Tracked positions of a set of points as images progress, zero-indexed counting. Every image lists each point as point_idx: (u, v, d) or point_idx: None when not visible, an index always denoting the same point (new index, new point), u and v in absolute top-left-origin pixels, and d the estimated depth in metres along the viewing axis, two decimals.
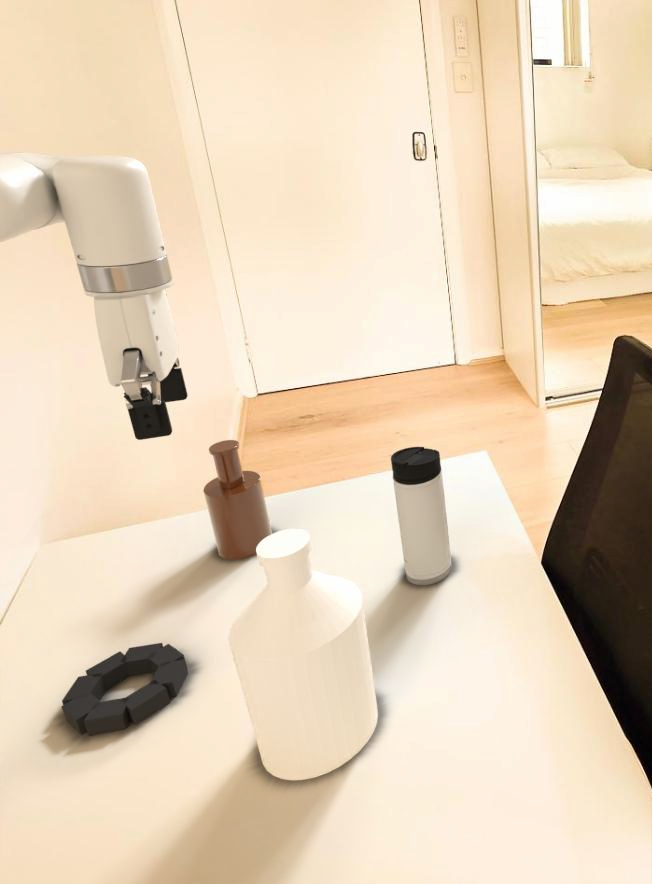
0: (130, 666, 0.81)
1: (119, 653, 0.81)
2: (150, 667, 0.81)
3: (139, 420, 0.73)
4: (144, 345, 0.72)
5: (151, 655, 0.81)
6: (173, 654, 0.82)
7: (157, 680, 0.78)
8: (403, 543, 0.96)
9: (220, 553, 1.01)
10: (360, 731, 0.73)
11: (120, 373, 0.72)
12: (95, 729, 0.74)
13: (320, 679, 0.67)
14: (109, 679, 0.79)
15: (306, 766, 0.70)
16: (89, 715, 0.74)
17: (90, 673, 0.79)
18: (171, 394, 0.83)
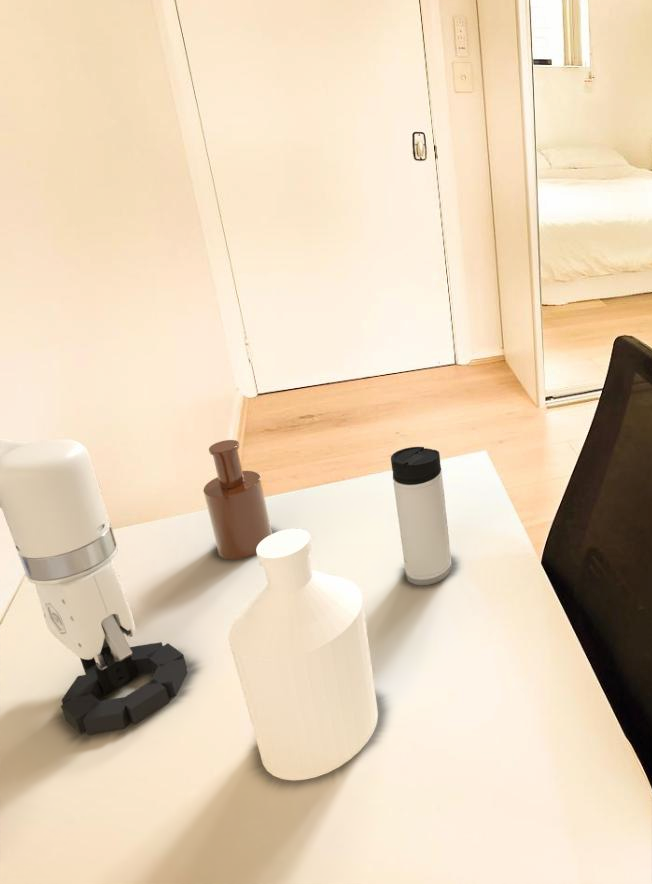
0: None
1: None
2: (150, 667, 0.82)
3: (112, 677, 0.78)
4: (120, 609, 0.75)
5: (151, 654, 0.81)
6: (172, 653, 0.82)
7: (157, 679, 0.78)
8: (403, 543, 0.96)
9: (220, 553, 1.01)
10: (360, 731, 0.73)
11: (99, 644, 0.74)
12: (94, 728, 0.74)
13: (320, 679, 0.67)
14: None
15: (306, 766, 0.70)
16: (88, 714, 0.74)
17: (89, 672, 0.79)
18: None
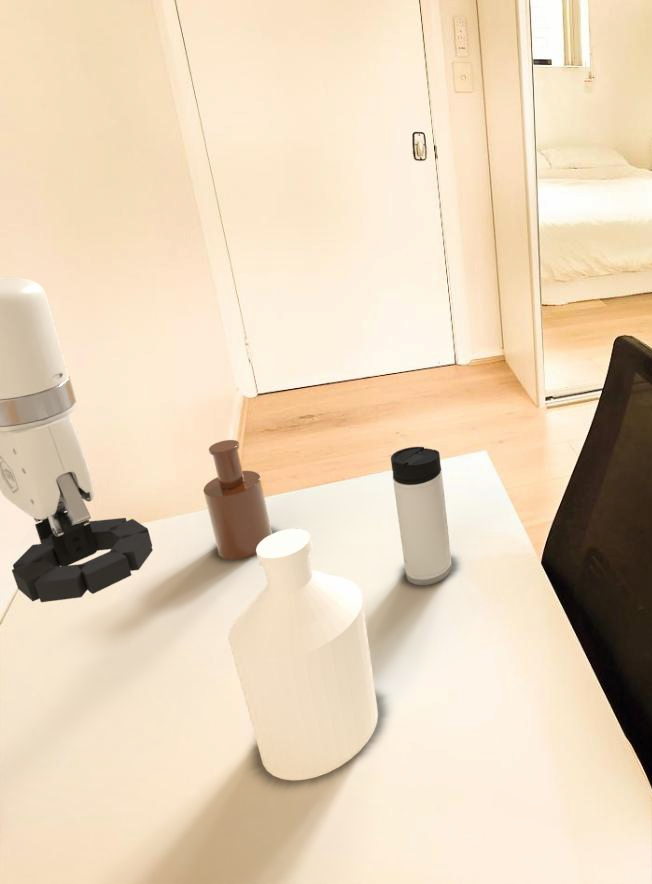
0: None
1: None
2: (112, 541, 0.76)
3: (69, 545, 0.72)
4: (77, 467, 0.70)
5: (113, 528, 0.76)
6: (136, 528, 0.76)
7: (117, 549, 0.73)
8: (403, 543, 0.96)
9: (220, 553, 1.01)
10: (360, 731, 0.73)
11: (54, 503, 0.69)
12: (47, 593, 0.68)
13: (320, 679, 0.67)
14: None
15: (306, 766, 0.70)
16: (41, 578, 0.68)
17: (46, 542, 0.73)
18: None
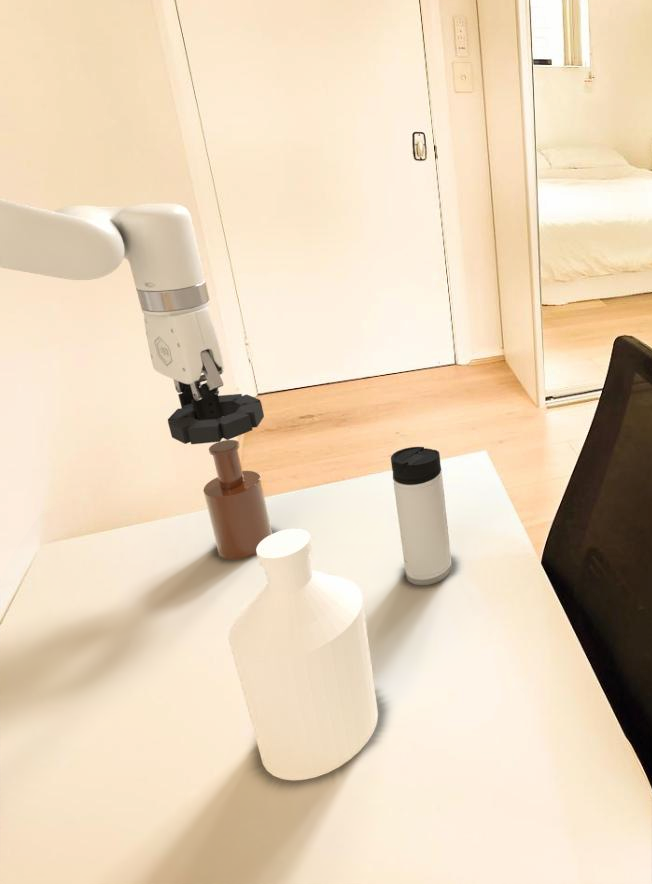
0: None
1: None
2: (233, 409, 1.00)
3: (205, 408, 0.96)
4: (214, 346, 0.94)
5: (234, 399, 1.00)
6: (251, 399, 1.00)
7: (241, 411, 0.96)
8: (403, 543, 0.96)
9: (220, 553, 1.01)
10: (360, 731, 0.73)
11: (199, 371, 0.92)
12: (196, 437, 0.92)
13: (320, 679, 0.67)
14: None
15: (306, 766, 0.70)
16: (191, 426, 0.92)
17: (187, 407, 0.97)
18: None
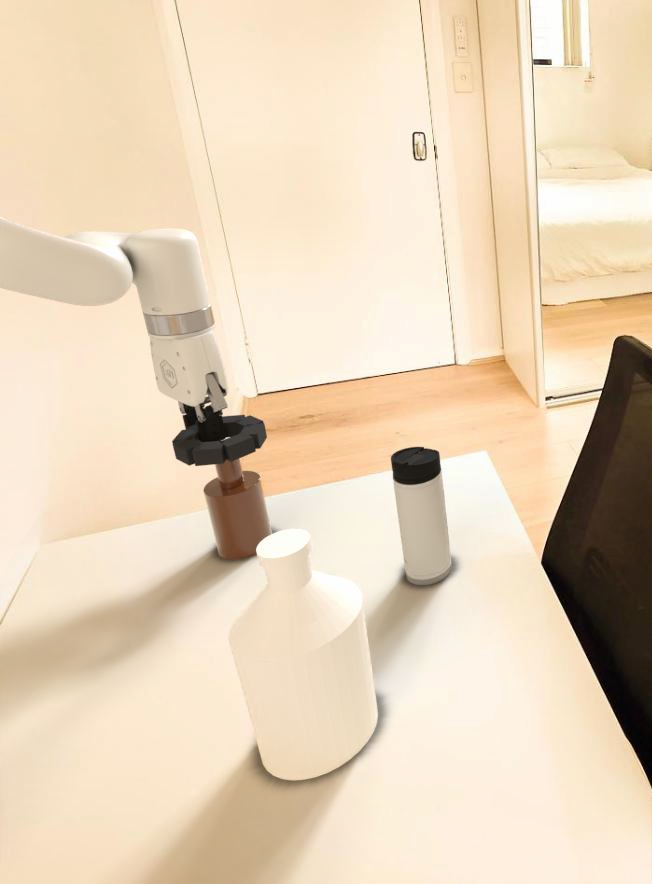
0: None
1: None
2: (236, 430, 1.01)
3: (209, 430, 0.98)
4: (218, 369, 0.95)
5: (237, 420, 1.01)
6: (255, 420, 1.01)
7: (245, 432, 0.98)
8: (403, 543, 0.96)
9: (220, 553, 1.01)
10: (360, 731, 0.73)
11: (203, 393, 0.94)
12: (200, 459, 0.93)
13: (320, 679, 0.67)
14: None
15: (306, 766, 0.70)
16: (195, 448, 0.93)
17: (191, 428, 0.98)
18: None
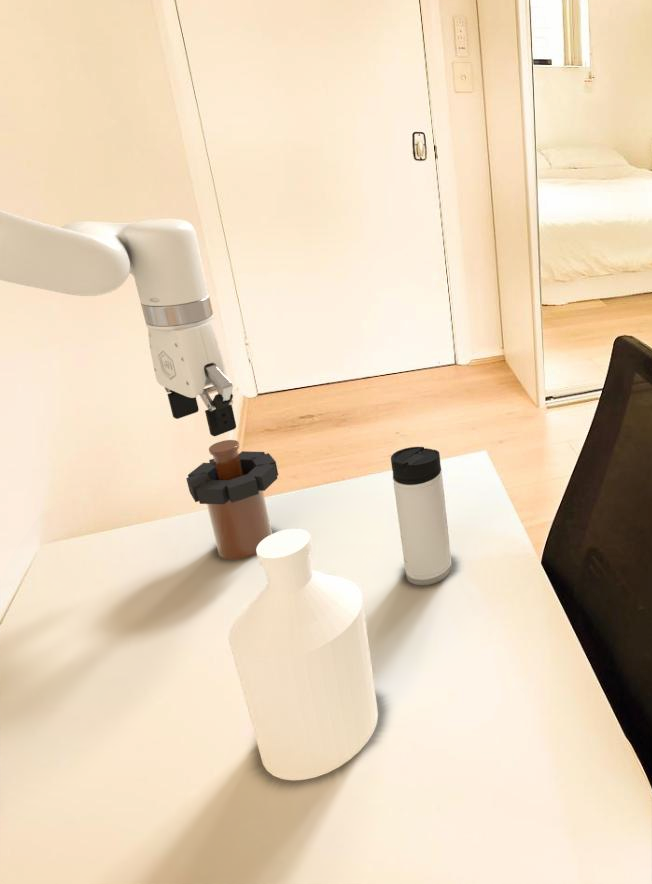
0: None
1: (205, 463, 1.01)
2: None
3: (218, 419, 0.95)
4: (217, 360, 0.94)
5: None
6: (255, 453, 1.04)
7: (261, 463, 1.01)
8: (403, 543, 0.96)
9: (220, 553, 1.01)
10: (360, 731, 0.73)
11: (202, 385, 0.93)
12: (236, 495, 0.96)
13: (320, 679, 0.67)
14: (211, 477, 0.99)
15: (306, 766, 0.70)
16: (229, 485, 0.96)
17: (195, 474, 0.98)
18: (188, 409, 1.01)
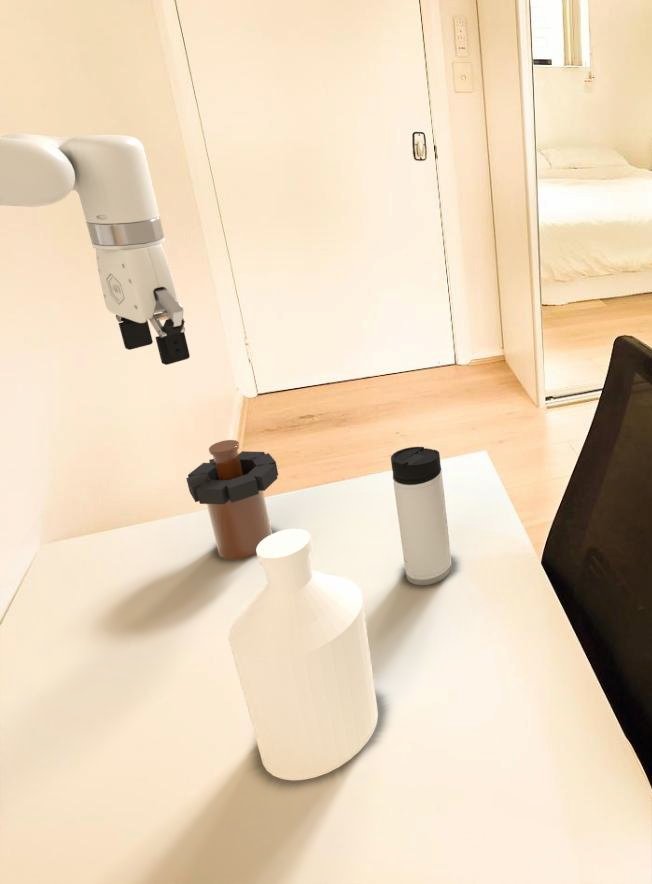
0: None
1: (205, 463, 1.01)
2: None
3: (170, 346, 0.92)
4: (168, 284, 0.91)
5: None
6: (255, 453, 1.04)
7: (261, 463, 1.01)
8: (403, 543, 0.96)
9: (220, 553, 1.01)
10: (360, 731, 0.73)
11: (151, 309, 0.90)
12: (236, 495, 0.96)
13: (320, 679, 0.67)
14: (211, 477, 0.99)
15: (306, 766, 0.70)
16: (229, 485, 0.96)
17: (195, 474, 0.98)
18: (141, 340, 0.98)
